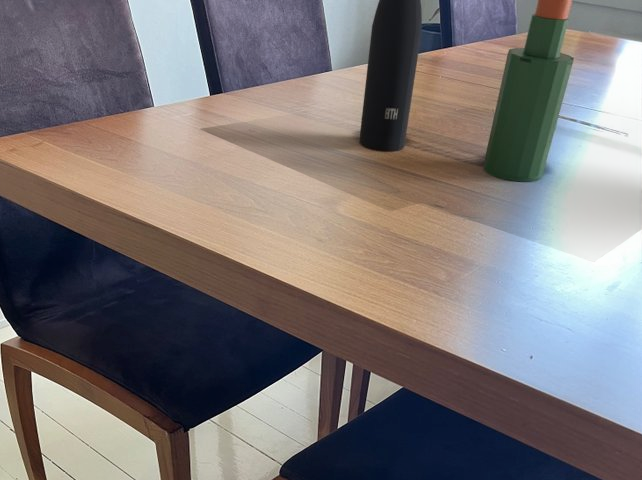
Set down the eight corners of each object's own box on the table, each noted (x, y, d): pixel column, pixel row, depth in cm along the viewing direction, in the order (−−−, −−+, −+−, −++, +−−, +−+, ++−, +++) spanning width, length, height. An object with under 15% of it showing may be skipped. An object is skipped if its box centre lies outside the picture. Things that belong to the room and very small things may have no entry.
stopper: (562, 56, 89) (580, -12, 85) (549, 59, 87) (566, -10, 82) (534, 50, 91) (550, -16, 86) (520, 53, 88) (536, -15, 84)
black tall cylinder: (380, 135, 106) (414, -127, 88) (413, 147, 103) (456, -123, 84) (349, 141, 103) (377, -130, 84) (382, 154, 99) (420, -127, 81)
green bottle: (552, 173, 98) (594, 20, 87) (525, 186, 93) (567, 24, 82) (500, 158, 102) (535, 9, 90) (472, 169, 97) (505, 13, 86)
